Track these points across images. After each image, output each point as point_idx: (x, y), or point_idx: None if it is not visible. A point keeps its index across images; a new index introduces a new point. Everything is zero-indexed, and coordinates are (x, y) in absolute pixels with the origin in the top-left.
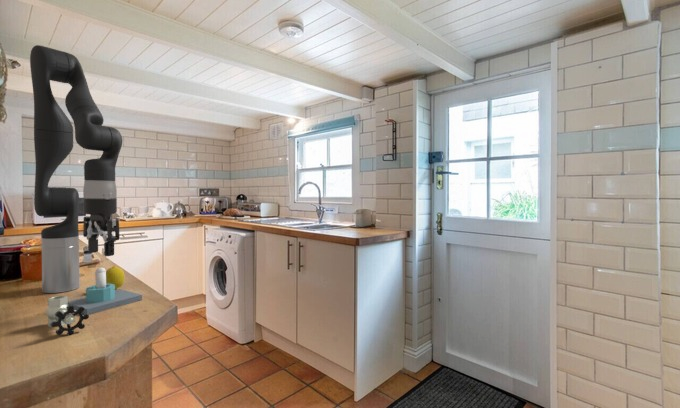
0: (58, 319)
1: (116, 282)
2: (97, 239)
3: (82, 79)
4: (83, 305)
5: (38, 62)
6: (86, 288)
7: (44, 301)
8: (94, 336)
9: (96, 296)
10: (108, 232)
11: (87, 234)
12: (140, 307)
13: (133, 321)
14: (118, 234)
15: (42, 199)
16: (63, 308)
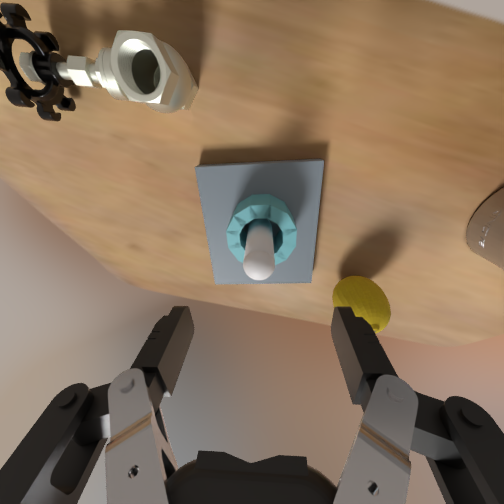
0: (8, 24)
1: (335, 293)
2: (354, 402)
3: None
4: (239, 175)
5: None
6: (277, 208)
7: (442, 143)
8: (21, 110)
9: (235, 210)
10: (19, 468)
11: (413, 425)
12: (166, 252)
13: (78, 204)
14: (61, 462)
15: None
16: (100, 74)
